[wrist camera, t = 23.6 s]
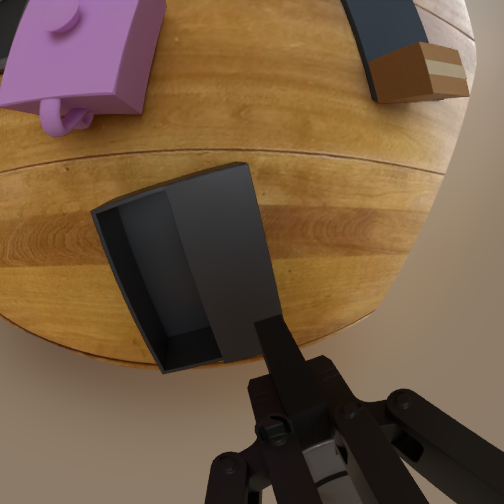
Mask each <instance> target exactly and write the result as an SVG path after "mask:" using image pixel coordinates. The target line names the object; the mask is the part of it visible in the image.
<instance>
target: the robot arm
mask: <svg viewBox="0 0 504 504" xmlns="http://www.w3.org/2000/svg"><path fill="white" fill-rule="evenodd" d="M254 326H255V329H256V333H257V336H258V340H259V343H260V346H261V350H262V353H263V356H264V360H265V362H266V365H267V368H268V371H269V374H267V375H264V376H261V377H257V378H254V379H250V381H249V385H248V393H249V397H250V400H251V404H252V408H253V413H254V416H255V420H256V425H255V433H256V435H257V439H256V441H255V442H254V443H253V444H252V445H251V446H250V447H248V448H247V449H245V450H243V451H241V452H240V453H237V452H225V453H222V454H220V455H219V456H217V457H216V458H215V459H214V460H213V462H212V465H211V469H210V475H209V480H208V486H207V492H206V498H205V504H262V490H263V489H264V488H266V487H268V486H270V485H271V484H272V487H273V491H274V494H275V497H276V501H277V504H429V502H428V501H427V499H426V498H425V496H424V494H423V493H422V491H421V490H420V488H419V487H418V485H417V484H416V482H415V481H414V479H413V477H412V476H411V474H410V473H409V471H408V470H407V468H406V467H405V465H404V463H403V462H402V460H401V459H400V457H401V458H402V459H403V460H404V461H405V462H406V463H408V464H409V465H410V466H411V467H412V468H414V469H415V470H416V471H417V472H418V473H420V474H421V475H422V476H423V477H424V478H426V479H427V480H428V481H429V482H430V483H432V484H433V485H434V486H435V487H437V488H438V489H439V490H440V491H442V492H443V493H444V494H446V495H447V496H448V497H449V498H450V499H452V500H453V501H454V502H456V503H457V504H504V452H503V451H501V450H500V449H498V448H497V447H495V446H494V445H492V444H490V443H489V442H487V441H486V440H484V439H483V438H481V437H480V436H478V435H477V434H475V433H474V432H472V431H471V430H469V429H468V428H466V427H465V426H464V425H462V424H460V423H459V422H457V421H456V420H455V419H453V418H452V417H450V416H449V415H447V414H446V413H444V412H443V411H441V410H440V409H439V408H437V407H436V406H434V405H433V404H431V403H430V402H428V401H427V400H425V399H424V398H423V397H421V396H420V395H418V394H417V393H415V392H414V391H412V390H409V389H398V390H395V391H394V392H392V393H391V394H390V395H389V396H388V398H387V400H382V401H376V402H364V401H361V400H359V399H357V398H356V397H355V396H354V395H353V393H352V391H351V390H350V388H349V387H348V385H347V384H346V383H345V381H344V379H343V378H342V376H341V375H340V373H339V371H338V370H337V369H336V367H335V365H334V364H333V362H332V361H331V360H330V359H329V358H327V357H325V356H323V355H321V356H318V357H316V358H313V359H310V360H307V361H305V359H304V357H303V355H302V353H301V352H300V350H299V348H298V346H297V344H296V342H295V340H294V338H293V337H292V335H291V333H290V331H289V329H288V327H287V325H286V323H285V322H284V320H283V318H282V316H281V314H279V315H276V316H273V317H270V318H267V319H263V320H260V321H257V322H254ZM331 435H332V437H331Z"/></svg>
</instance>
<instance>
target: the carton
mask: <svg viewBox="0 0 504 504" xmlns="http://www.w3.org/2000/svg"><path fill="white" fill-rule="evenodd" d="M243 164H247V163H246V162H232V163H228V164H224V165H220V166H217V167H213V168H209V169H206V170H202V171H198V172H195V173H191V174H188V175H184V176H181V177H178V178H174V179H171V180H168V181H165V182H162V183H158V184H155V185H152V186H149V187H146V188H143V189H140V190H137V191H134V192H131V193H128V194H126V195H123V196H120V197H117V198H114V199H112V200H110V201H108V202H106V203H104V204H103V205H101V206H99V207H97V208H95V209H93V210H92V211H90V212H91V215H92V218H93V221H94V224H95V227H96V230H97V232H98V235H99V238H100V241H101V244H102V246H103V249H104V252H105V254H106V257H107V259H108V262H109V264H110V267H111V269H112V272H113V274H114V277H115V279H116V281H117V284H118V286H119V288H120V291H121V293H122V295H123V297H124V300H125V302H126V304H127V306H128V308H129V311H130V313H131V315H132V317H133V319H134V321H135V323H136V325H137V327H138V329H139V331H140V333H141V335H142V337H143V339H144V341H145V343H146V345H147V347H148V349H149V351H150V352H151V354H152V356H153V358H154V360H155V362H156V363H157V365H158V367H159V369H160V370H161V372H162V374H166V373H171V372H176V371H181V370H185V369H190V368H194V367H198V366H202V365H206V364H210V363H214V362H218V361H222V360H224V359H223V357H222V354H221V352H220V349H219V347H218V344H217V342H216V339H215V336H214V334H213V331H212V329H211V326H210V323H209V321H208V318H207V315H206V313H205V310H204V307H203V304H202V302H201V299H200V296H199V293H198V290H197V288H196V285H195V282H194V279H193V276H192V273H191V270H190V267H189V264H188V261H187V258H186V255H185V252H184V249H183V246H182V243H181V240H180V237H179V234H178V230H177V227H176V224H175V221H174V217H173V214H172V211H171V207H170V204H169V201H168V197H167V194H166V190H165V186H167V185H170V184H173V183H177V182H180V181H183V180H187V179H190V178H194V177H197V176H201V175H204V174H208V173H212V172H215V171H219V170H223V169H227V168H231V167H235V166H239V165H243Z"/></svg>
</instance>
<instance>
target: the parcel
mask: <svg viewBox="0 0 504 504" xmlns="http://www.w3.org/2000/svg"><path fill="white" fill-rule="evenodd" d="M368 64H369V68H370V71H371V75H372V79H373V82H374V86H375V90H376V95H377V99H378V103H396V102H421V101H429V100H437V99H447V98H458V97H469V96H470V95H469V90H468V86H467V82H466V80H467V78H466V74H465V70H464V66H462V63H461V59H460V56H459V53H458V50H455V49H451V48H447V47H443V46H438V45H434V44H429V43H424V42H417V43H414V44H411V45H409V46H406V47H403V48H401V49H398V50H396V51H393V52H391V53H388V54H386V55H383V56H381V57H379V58H376V59H374V60H372V61H369V62H368Z"/></svg>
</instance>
